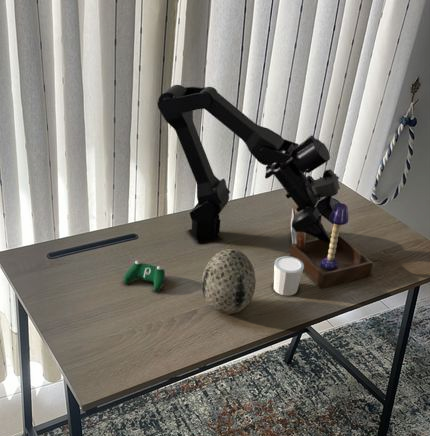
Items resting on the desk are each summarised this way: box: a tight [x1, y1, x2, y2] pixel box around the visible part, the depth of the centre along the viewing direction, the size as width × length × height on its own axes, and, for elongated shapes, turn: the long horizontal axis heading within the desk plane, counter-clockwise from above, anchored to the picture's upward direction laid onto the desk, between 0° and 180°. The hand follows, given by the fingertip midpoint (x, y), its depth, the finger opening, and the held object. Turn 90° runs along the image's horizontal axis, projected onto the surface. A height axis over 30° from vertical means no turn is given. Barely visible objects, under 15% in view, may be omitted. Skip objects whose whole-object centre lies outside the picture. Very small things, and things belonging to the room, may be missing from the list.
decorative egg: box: [201, 248, 257, 315], centre depth 146 cm, size 12×12×15 cm
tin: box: [290, 205, 307, 252], centre depth 173 cm, size 15×3×8 cm, turn 179°
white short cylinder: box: [273, 255, 304, 297], centre depth 157 cm, size 7×7×7 cm
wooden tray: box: [289, 233, 374, 289], centre depth 167 cm, size 14×14×4 cm
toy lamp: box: [321, 202, 349, 270], centre depth 162 cm, size 5×5×17 cm
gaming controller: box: [122, 260, 166, 293], centre depth 156 cm, size 9×4×6 cm
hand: (333, 232), depth 162 cm, fingers open, 9 cm apart
